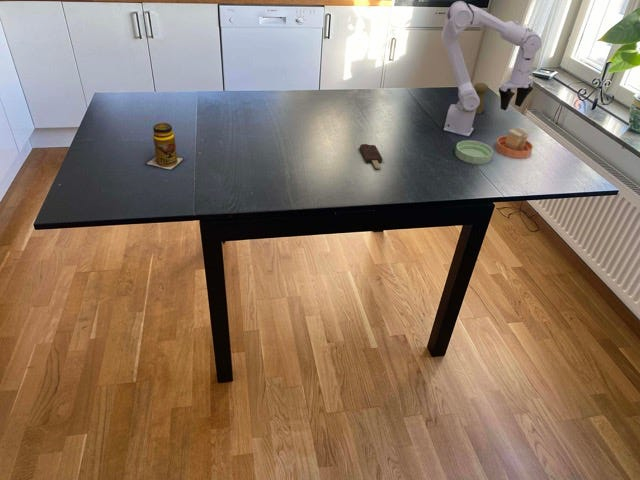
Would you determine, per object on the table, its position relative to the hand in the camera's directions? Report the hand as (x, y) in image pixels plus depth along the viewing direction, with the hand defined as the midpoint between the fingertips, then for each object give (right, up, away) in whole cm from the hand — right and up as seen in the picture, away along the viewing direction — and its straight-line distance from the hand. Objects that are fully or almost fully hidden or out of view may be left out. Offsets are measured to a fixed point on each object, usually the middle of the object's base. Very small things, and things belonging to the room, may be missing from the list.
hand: (510, 107), depth 179 cm
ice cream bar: (-51, -21, -15) cm, 57 cm away
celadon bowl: (-16, -19, -9) cm, 27 cm away
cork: (-6, +4, +23) cm, 24 cm away
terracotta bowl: (-1, -16, -4) cm, 17 cm away
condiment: (-115, -23, -24) cm, 120 cm away
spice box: (-1, -16, -5) cm, 17 cm away
